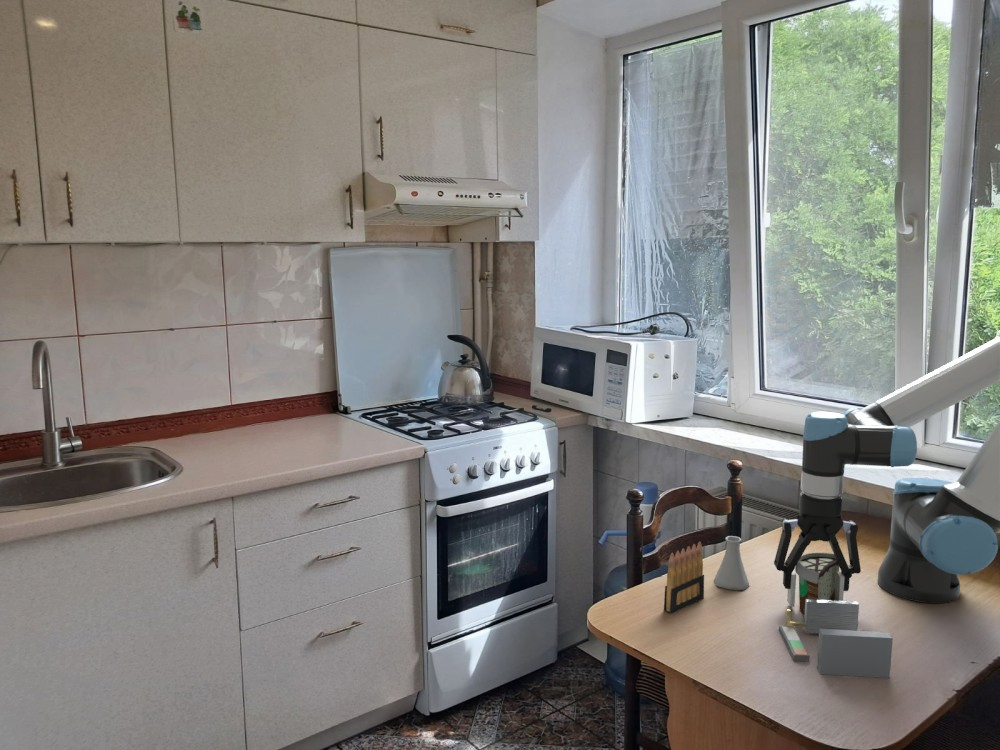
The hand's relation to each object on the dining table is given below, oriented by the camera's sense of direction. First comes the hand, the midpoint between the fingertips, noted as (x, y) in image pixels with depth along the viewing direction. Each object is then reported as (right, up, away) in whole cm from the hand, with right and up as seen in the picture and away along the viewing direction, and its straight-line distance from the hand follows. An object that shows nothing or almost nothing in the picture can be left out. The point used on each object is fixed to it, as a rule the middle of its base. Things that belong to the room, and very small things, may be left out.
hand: (814, 604), depth 157 cm
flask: (-13, +1, +12) cm, 17 cm away
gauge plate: (-3, -2, -10) cm, 11 cm away
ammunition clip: (-25, -1, +2) cm, 25 cm away
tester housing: (-4, -4, -17) cm, 18 cm away
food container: (-1, -1, 0) cm, 1 cm away
